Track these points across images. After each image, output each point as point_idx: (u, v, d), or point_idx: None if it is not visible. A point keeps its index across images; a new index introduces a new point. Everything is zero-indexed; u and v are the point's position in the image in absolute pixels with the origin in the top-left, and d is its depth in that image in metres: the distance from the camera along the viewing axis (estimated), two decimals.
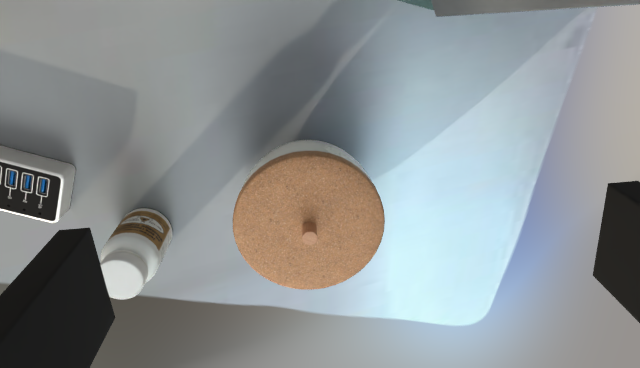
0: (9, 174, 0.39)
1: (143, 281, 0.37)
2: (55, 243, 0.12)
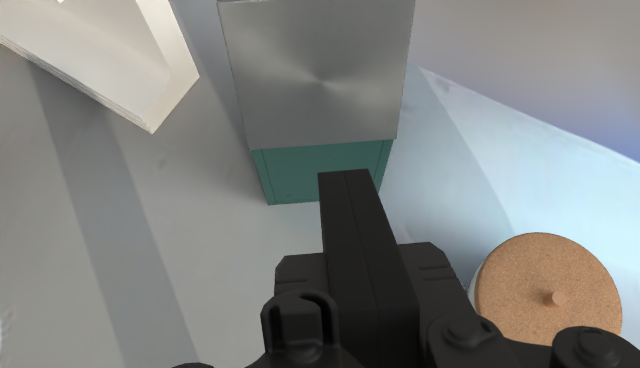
0: None
1: None
2: (325, 180, 0.14)
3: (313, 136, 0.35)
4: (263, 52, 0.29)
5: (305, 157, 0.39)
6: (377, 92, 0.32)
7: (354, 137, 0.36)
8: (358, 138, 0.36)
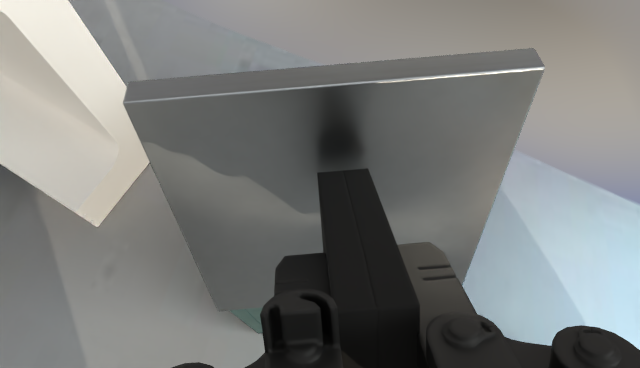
0: None
1: None
2: (325, 180, 0.14)
3: None
4: (229, 183, 0.15)
5: None
6: (438, 233, 0.18)
7: None
8: None
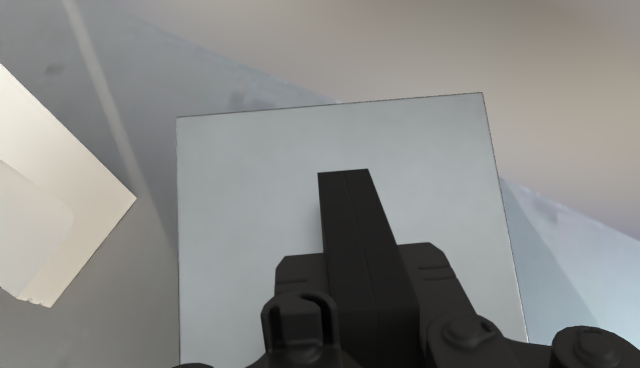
0: None
1: None
2: (325, 180, 0.14)
3: None
4: (239, 209, 0.16)
5: None
6: None
7: None
8: None
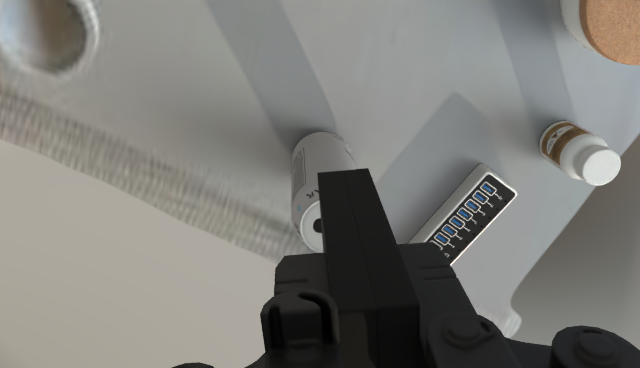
0: (469, 205, 0.51)
1: (613, 151, 0.44)
2: (325, 180, 0.14)
3: None
4: None
5: None
6: None
7: None
8: None
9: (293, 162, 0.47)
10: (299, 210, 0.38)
